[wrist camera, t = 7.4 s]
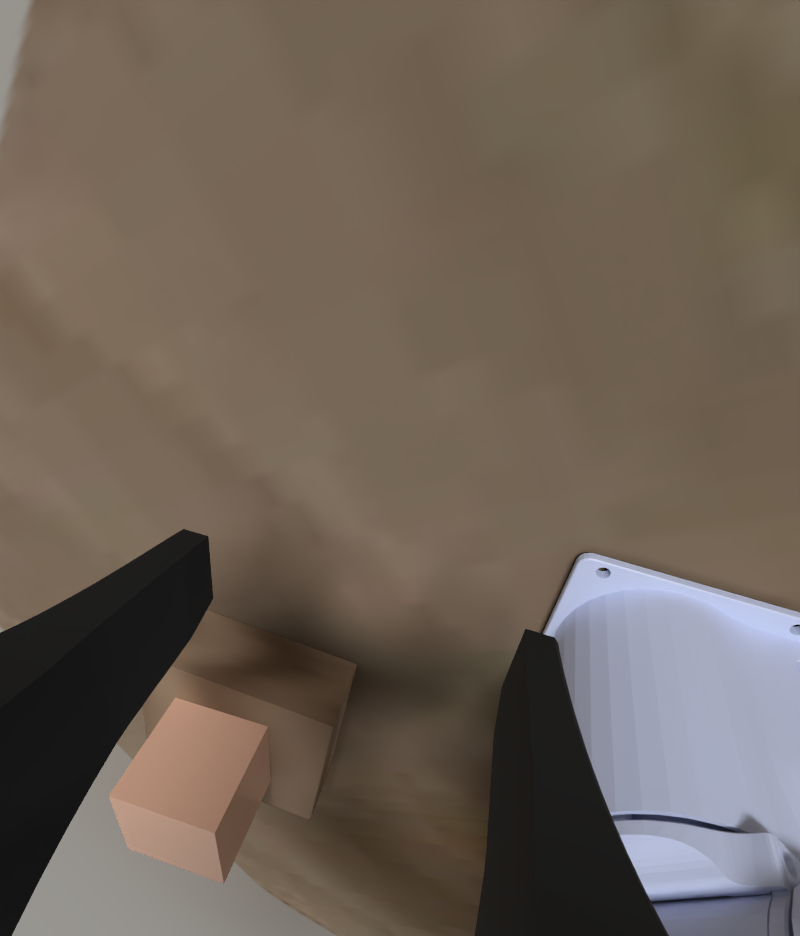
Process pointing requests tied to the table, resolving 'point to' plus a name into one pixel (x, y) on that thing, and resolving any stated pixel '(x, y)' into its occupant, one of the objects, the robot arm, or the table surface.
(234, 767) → the terracotta cube
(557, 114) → the table surface
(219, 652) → the walnut block
